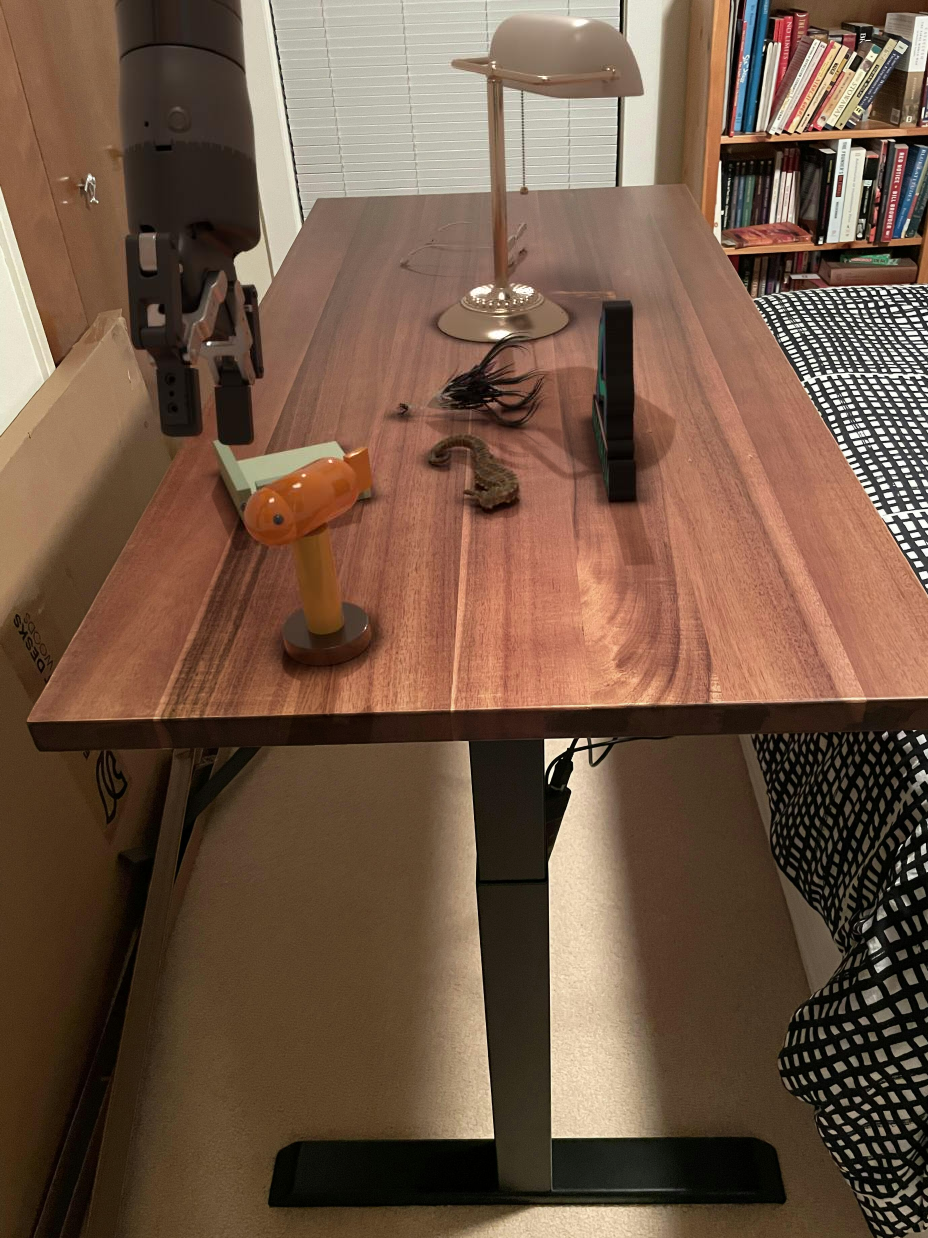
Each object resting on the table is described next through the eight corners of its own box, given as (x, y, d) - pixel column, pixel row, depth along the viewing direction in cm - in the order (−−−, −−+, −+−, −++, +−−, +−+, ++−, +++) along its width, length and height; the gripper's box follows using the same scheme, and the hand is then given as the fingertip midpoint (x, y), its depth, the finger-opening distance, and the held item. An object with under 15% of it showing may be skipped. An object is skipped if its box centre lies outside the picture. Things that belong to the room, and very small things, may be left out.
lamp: (651, 328, 127) (669, 15, 106) (482, 361, 119) (466, 31, 98) (558, 279, 146) (557, 6, 125) (407, 305, 138) (380, 19, 117)
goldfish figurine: (356, 589, 78) (331, 430, 70) (416, 613, 75) (398, 450, 67) (253, 656, 71) (212, 488, 63) (315, 686, 68) (280, 514, 60)
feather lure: (559, 422, 100) (538, 343, 95) (399, 458, 105) (371, 385, 100) (565, 391, 107) (546, 315, 102) (414, 426, 112) (389, 356, 107)
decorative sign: (635, 501, 89) (644, 336, 79) (608, 502, 89) (614, 337, 79) (614, 419, 104) (619, 272, 94) (591, 420, 104) (594, 273, 94)
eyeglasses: (507, 270, 151) (506, 243, 148) (397, 267, 155) (394, 240, 152) (528, 245, 163) (528, 219, 160) (426, 242, 166) (424, 217, 164)
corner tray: (245, 525, 87) (237, 490, 85) (220, 473, 96) (212, 440, 94) (371, 497, 91) (367, 462, 89) (337, 449, 100) (332, 417, 98)
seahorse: (473, 441, 99) (471, 424, 98) (534, 502, 89) (532, 484, 88) (423, 457, 98) (420, 440, 97) (479, 520, 87) (477, 502, 86)
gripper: (179, 198, 64) (198, 449, 67) (63, 112, 50) (94, 435, 53) (290, 192, 63) (304, 446, 66) (204, 103, 49) (227, 430, 52)
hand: (211, 441), depth 60 cm, fingers open, 8 cm apart
